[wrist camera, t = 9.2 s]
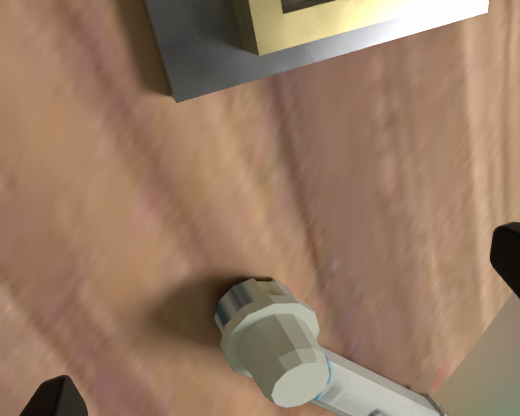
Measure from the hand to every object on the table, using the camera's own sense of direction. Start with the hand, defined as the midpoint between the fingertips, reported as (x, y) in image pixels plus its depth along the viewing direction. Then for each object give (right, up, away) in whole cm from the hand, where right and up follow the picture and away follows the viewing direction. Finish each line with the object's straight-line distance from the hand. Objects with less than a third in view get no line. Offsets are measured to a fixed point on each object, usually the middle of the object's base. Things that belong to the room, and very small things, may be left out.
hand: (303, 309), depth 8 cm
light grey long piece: (+5, -9, +23) cm, 25 cm away
